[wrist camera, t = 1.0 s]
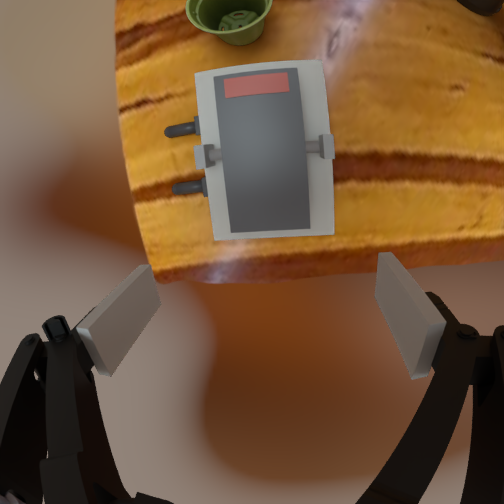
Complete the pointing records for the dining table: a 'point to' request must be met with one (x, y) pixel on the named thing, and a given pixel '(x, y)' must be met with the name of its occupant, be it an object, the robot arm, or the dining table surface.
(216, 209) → the switch box
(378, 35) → the dining table surface
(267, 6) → the plant pot
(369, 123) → the dining table surface
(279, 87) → the rocker
